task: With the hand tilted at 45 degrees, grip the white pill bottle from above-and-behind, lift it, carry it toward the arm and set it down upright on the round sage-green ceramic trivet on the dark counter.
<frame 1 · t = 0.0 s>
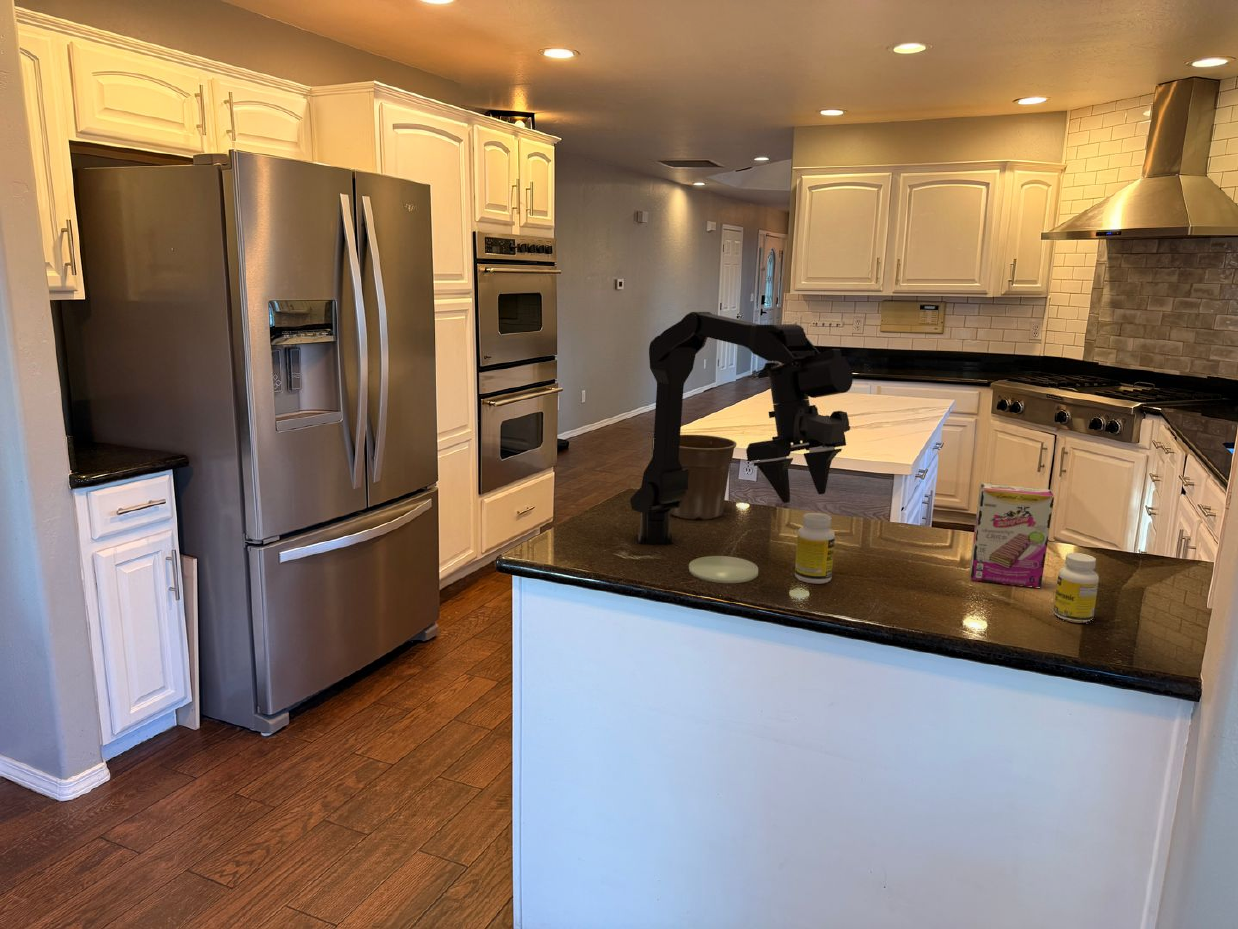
hand: (804, 498, 134), 15 cm above the countertop, tool pointing down, fingers open, 9 cm apart
supplement bottle: (1072, 619, 127), on the countertop
candy bar box: (1004, 582, 143), on the countertop
pill bottle: (812, 579, 142), on the countertop
trivet: (723, 571, 145), on the countertop
plant pot: (695, 514, 182), on the countertop
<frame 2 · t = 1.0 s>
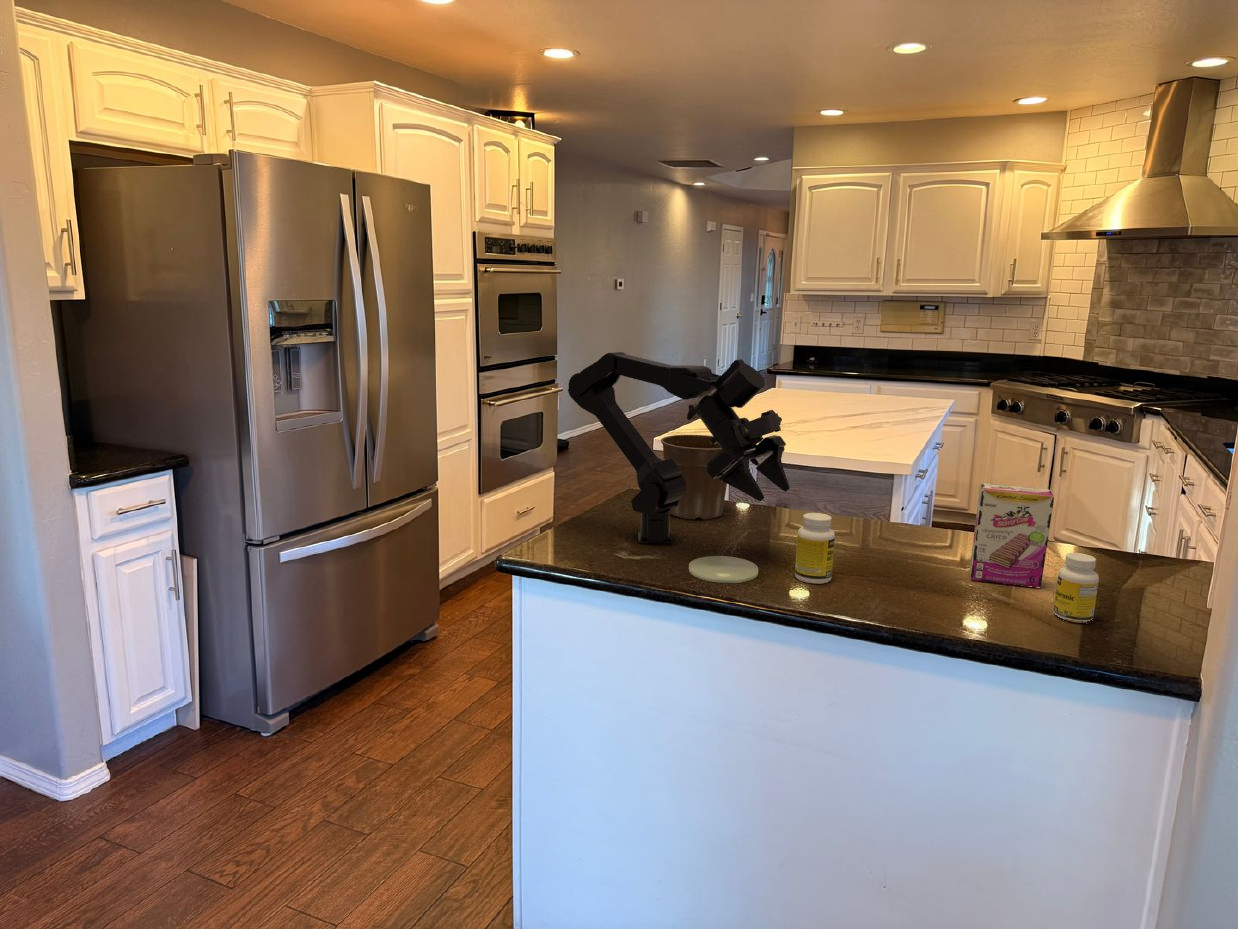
hand: (775, 494, 144), 13 cm above the countertop, tool tilted 45°, fingers open, 9 cm apart
nothing on the countertop moved.
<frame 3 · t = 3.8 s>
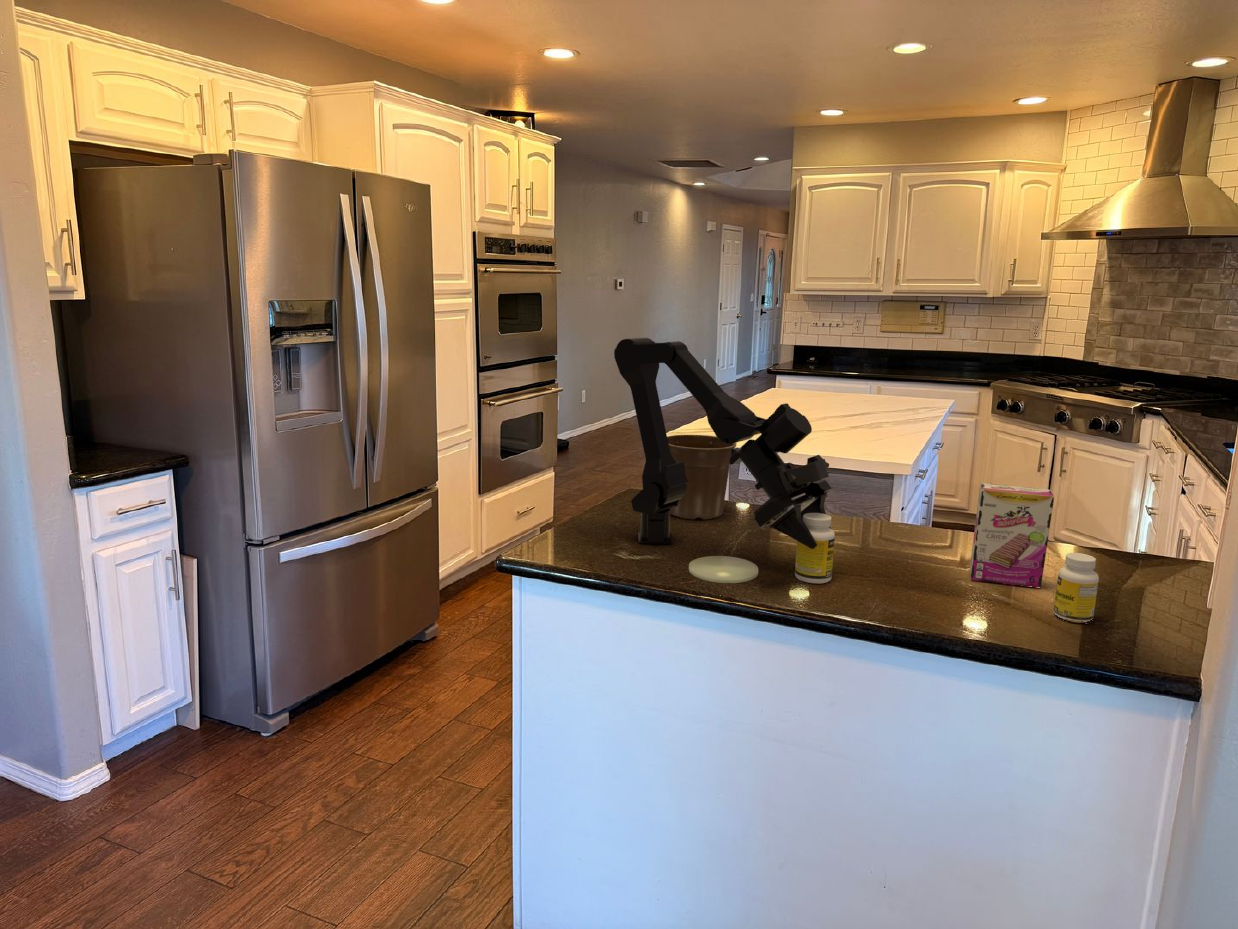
hand: (823, 543, 140), 7 cm above the countertop, tool tilted 45°, fingers closed on pill bottle, 6 cm apart
pill bottle: (813, 579, 142), on the countertop, touching gripper
everything else where it was.
when the fingers open (8 cm above the countertop, at t = 7.2 s): pill bottle stays where it is, resting on trivet.
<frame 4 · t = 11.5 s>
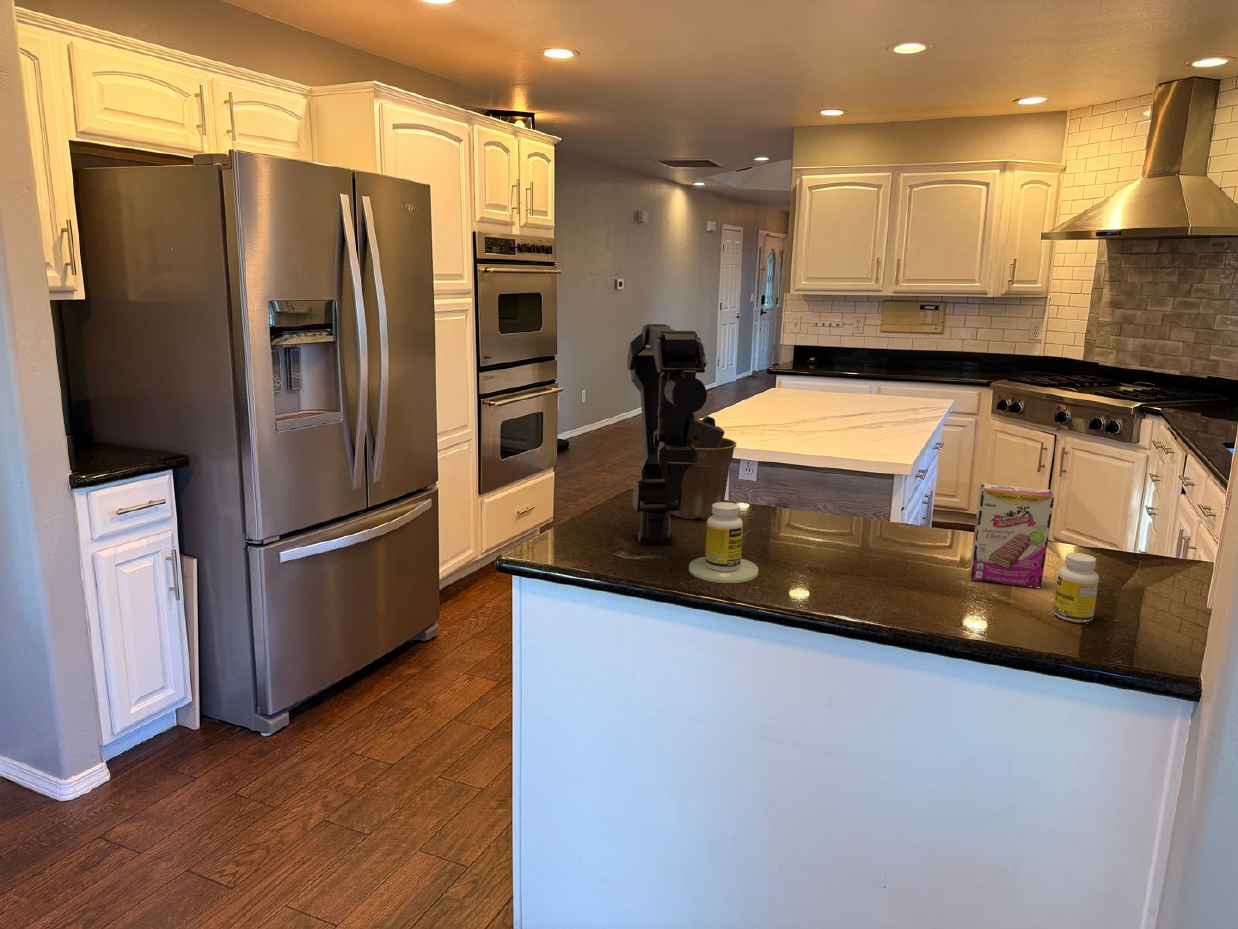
hand: (672, 492, 146), 13 cm above the countertop, tool pointing down, fingers open, 9 cm apart
pill bottle: (722, 567, 145), point 1 cm above the countertop, touching trivet
everything else where it was.
at the end: pill bottle 0.2 cm from the trivet (horizontally); pill bottle tilted 0°; the gripper is holding nothing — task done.
